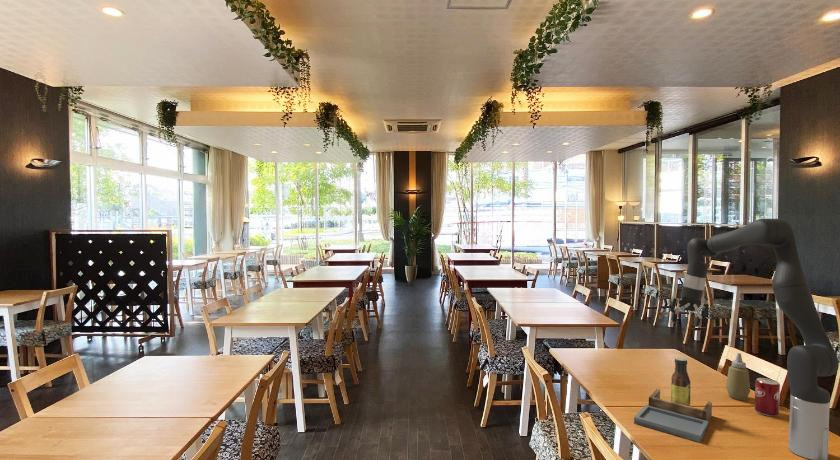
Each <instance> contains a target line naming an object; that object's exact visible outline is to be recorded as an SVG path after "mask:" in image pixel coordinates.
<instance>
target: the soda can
mask: <svg viewBox="0 0 840 460" xmlns="http://www.w3.org/2000/svg"><path fill="white" fill-rule="evenodd" d="M754 382H755V383H754V384H755V385H754V387H755V389H754V411H755V412H756V413H758V414H759V415H763V416H767V417H777V416H779V415H780V397H781V395H780V394H781V384H780V382H779V381H777V380H774V379H771V378H765V377H757V378H756V379H755V381H754Z"/></svg>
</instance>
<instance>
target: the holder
mask: <svg viewBox="0 0 840 460" xmlns="http://www.w3.org/2000/svg"><path fill="white" fill-rule="evenodd" d="M648 406H652V407H656V408H659V409H663V410H667V411H671V412H675V413H678V414H682V415H686V416H690V417H694V418H698V419H701V420H705V421H708V422H710V419H711V418H712V415H713V412H712V411H713V402H712V401H707V403H706V404H705V406H704V407H703V409H701V408H697V407H693V406H691V405H690V406H686V405H682V404H678V403H674V402H671V400H665V399H661V389H656V390H654V391H653V392H652V394H650V395H649V397H648Z"/></svg>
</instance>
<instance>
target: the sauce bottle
mask: <svg viewBox="0 0 840 460" xmlns="http://www.w3.org/2000/svg"><path fill="white" fill-rule="evenodd" d="M674 363H675V364H674V366H675V367H674V372H673V373H672V374H671V383H670V402H674V403H678V404H682V405H686V406H690V407H691V385H692V383H691V379H690V376H689V373H688V369H687V368H688V366H687V365H688V359H686V358H683V357H675V358H674Z"/></svg>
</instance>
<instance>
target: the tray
mask: <svg viewBox="0 0 840 460" xmlns="http://www.w3.org/2000/svg"><path fill="white" fill-rule="evenodd" d="M633 424H635V425H639V426H643V427H646V428H649V429H653V430H655V431H656V430H657V431H660V432H663V433H667V434H669V433H670V435H673V436H675V437H680V438H683V439H687V440H690V441H693V442H697V443H701V442H702V440H703V438H704V436H705V435H706V432H707V430H708V429H709V421H705V420H701V419H698V418H694V417H690V416H686V415H682V414H678V413H675V412H671V411H667V410H663V409H659V408H656V407H652V406H649V404H648V405H647V404H645V405H644V406H643V407H642V408H641V409H640V410H639V412H637V414H636V415H634V416H633Z"/></svg>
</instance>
